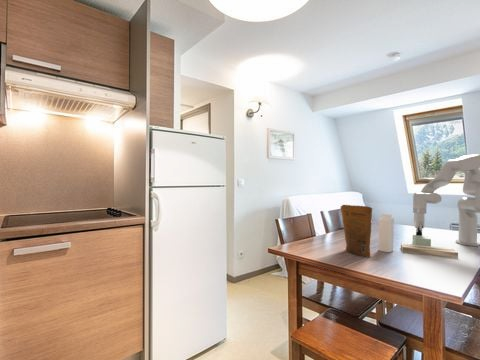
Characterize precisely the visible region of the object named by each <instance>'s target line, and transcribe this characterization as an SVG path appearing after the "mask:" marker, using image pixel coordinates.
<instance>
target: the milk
mask: <svg viewBox="0 0 480 360" xmlns="http://www.w3.org/2000/svg"><path fill="white" fill-rule="evenodd" d="M380 215H381V216H380V217H379V218H378V251H381V252H386V253H391V252H393V251H394V235H395V234H394V232H395V231H394V230H395V228H394V226H395V221H394V218H393V217H392V216H393V215H392V214H390V213H389V214H387V213H381V214H380Z"/></svg>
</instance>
